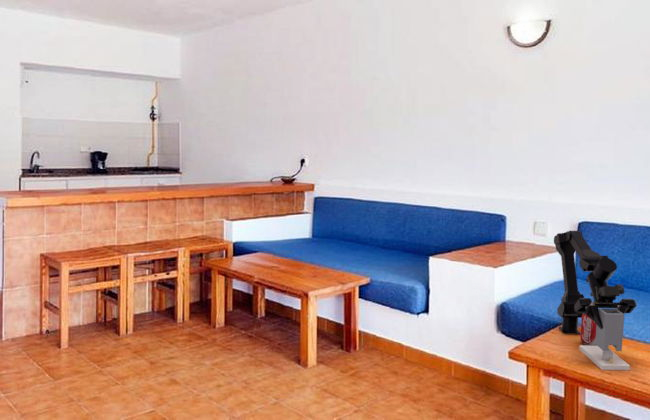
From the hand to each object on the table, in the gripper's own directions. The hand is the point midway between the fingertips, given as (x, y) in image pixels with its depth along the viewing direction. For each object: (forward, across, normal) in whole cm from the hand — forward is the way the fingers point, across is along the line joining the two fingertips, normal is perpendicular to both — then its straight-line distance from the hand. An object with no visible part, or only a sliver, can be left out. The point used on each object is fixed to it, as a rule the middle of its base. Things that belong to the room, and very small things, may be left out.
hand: (611, 328), depth 189 cm
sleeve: (+4, 0, +6) cm, 7 cm away
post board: (+5, +1, +13) cm, 14 cm away
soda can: (-5, +2, +24) cm, 24 cm away
